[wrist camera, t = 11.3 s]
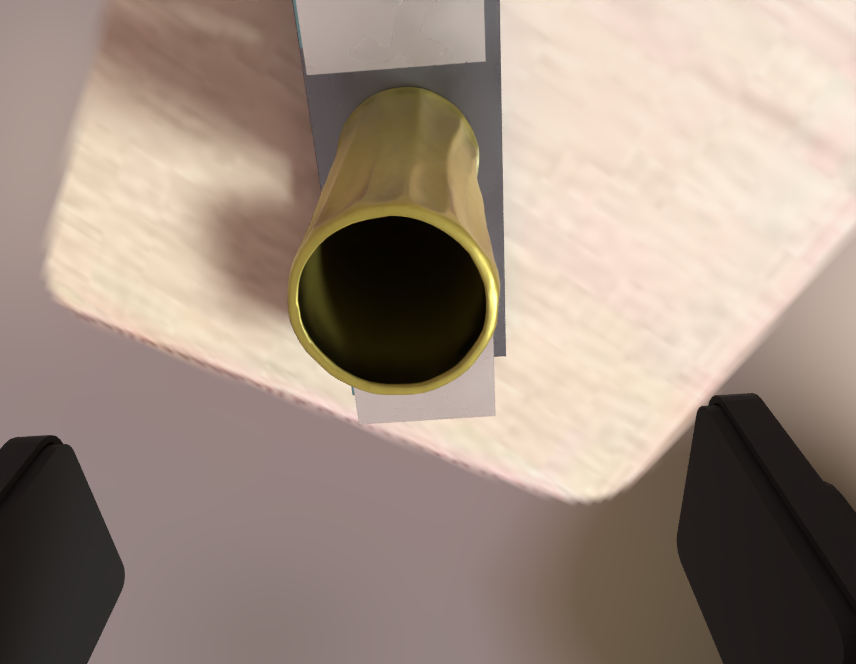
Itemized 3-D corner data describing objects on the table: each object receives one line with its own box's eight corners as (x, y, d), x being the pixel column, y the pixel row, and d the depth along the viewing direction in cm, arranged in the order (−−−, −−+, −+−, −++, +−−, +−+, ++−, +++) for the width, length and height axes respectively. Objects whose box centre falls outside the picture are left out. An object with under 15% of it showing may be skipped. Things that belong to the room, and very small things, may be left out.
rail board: (284, -100, 25) (243, -119, 20) (493, -118, 25) (514, -143, 19) (350, 351, 35) (336, 425, 29) (502, 341, 35) (518, 414, 29)
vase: (430, 252, 31) (432, 446, 18) (311, 183, 29) (224, 342, 17) (506, 138, 28) (570, 270, 16) (381, 55, 27) (341, 130, 14)
